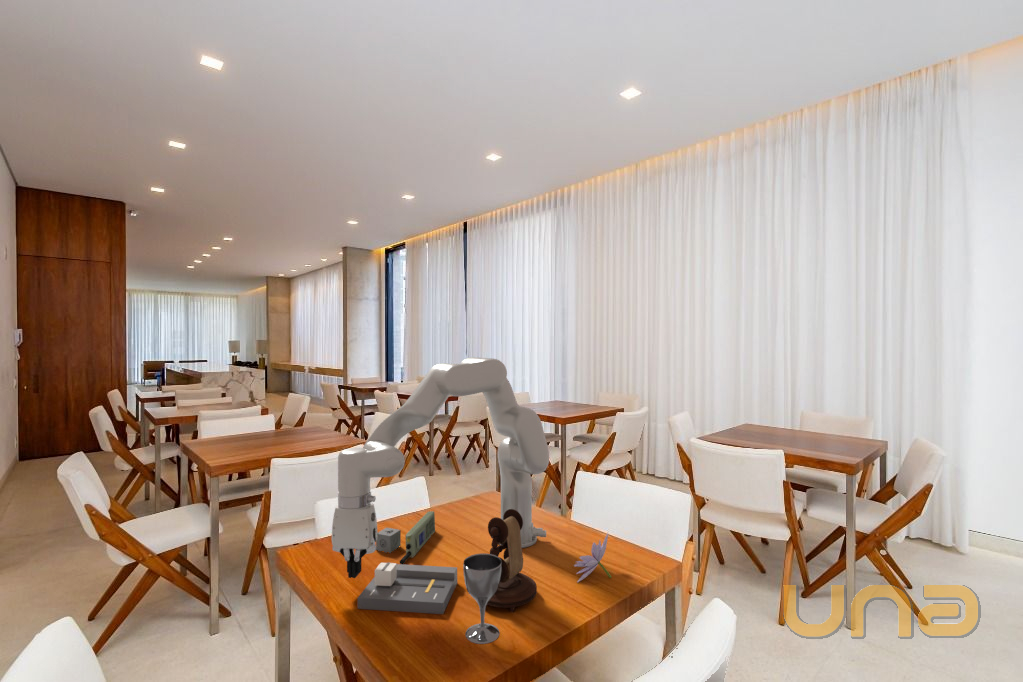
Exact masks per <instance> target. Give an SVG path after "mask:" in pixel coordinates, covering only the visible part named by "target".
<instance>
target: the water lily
mask: <svg viewBox="0 0 1023 682" xmlns="http://www.w3.org/2000/svg"><path fill="white" fill-rule="evenodd" d="M608 538H609V532H607V533H606V535H605V537H604V538H603V539H604V540H603V542H602V543H601V539H599V540H598V544H597V543H596V542H593V543H592V545H591V550H590V552H591V555H581V556H579V559H580V560H578V561H577V560H576V561H575V564H573V566H574V567H577V568H581V569H580V570H579V571H578V572H576V575H578V574H582V573H583V574H582V575H581V576H580V577H579V579H578V580H577V582H576V583H579V582H581V581H582V580H584V579H585V578H587V577H588V576H589V575H591V573H592V572H594V570H596V567H597V566H600V568H601V569H602V570H603V572H604V573H605V574H606V575H607V577H608V578H609V579H611V578H612V575H611V574H610V572H609V571H608V570H607V568H606V567H605V566H604V565H603V564H602V563H601V560H602V559H603V557H604V556H605V553H606V549H607V544H608Z"/></svg>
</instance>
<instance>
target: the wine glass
mask: <svg viewBox="0 0 1023 682" xmlns="http://www.w3.org/2000/svg"><path fill="white" fill-rule="evenodd" d="M499 557H500V556H496V555H493V554H490V553H483V552H482V553H474V554H471V555H469V556H466V557H465V558H464V559H463V569H462V570H463V578H464V584H465V588H466V590H467V593H468V594H469V595H470V596H471V598H472V599H474V600H475V602H476V603H477V605H478V608H479V614H480V623H475V624H473V625H471V626H470V627H468V628H467V629H466V631H465V633H464V634H465V635H464V636H465V638H466V639H467V640H468V641H469V642H471V643H473V644H476V645H477V644H478V645H486V644H490V643H494V642H495V641H496V640H498V638H499V637H500V630H499V628H498V627H497V626H496V625H494V624H491V623H486V622H485V616H486V607H487V606H488V605H487V603H488V601H489V600H490V599H491V598H492V597H493V595H494V594H495V593H496V592H497V590H498V587H499V584H500V579H501V559H500V558H501V557H500V558H499Z"/></svg>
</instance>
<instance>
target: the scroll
mask: <svg viewBox="0 0 1023 682" xmlns="http://www.w3.org/2000/svg"><path fill="white" fill-rule="evenodd" d="M522 526H523V519H522V517H521V515H520V513H519V512H518V511H516V510H514V509H509V510H507V511H506V512H505V513H504V516H503V520H502V519H501V517H497V516H495V517H493V518H491V519H490V520H489V522H488V524H487V532H488V534H489V536H490V537H491V539H492V540H491V545H490V546H491V548H490V550H489V554H493V555H496V556H498V557H499V558H500V559H501V579H500V584H499V587H498V590H497V592H496V593H495V594H494V595H493V597H492V598H491V599H490V600H489V601H488V603H487V605H486V606H491V607H495V608H501V609H502V608H503V609H504V608H506V609H507V608H509V610H510V612H511V613H513V612H514V611H515V608H517V607H520V606H524V605H526V604H528V603H530V602H531V601H532V600H534V599H535V598H536V596H537V593H538V588H537V587H538V586H537V583H536V581H535V580H534V579H532V577H530V576H528V575H526V574H525V573H522V570H523V567H524V555H523V548H522V547H521V534H520V530H521V529H522ZM500 544H501V545H500ZM503 550H504V551H503ZM502 552H503V558H502V557H500V554H501V553H502Z"/></svg>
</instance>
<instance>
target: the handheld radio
mask: <svg viewBox="0 0 1023 682" xmlns="http://www.w3.org/2000/svg"><path fill="white" fill-rule="evenodd" d="M435 516H436V514H435V511H433V510H432V511H431V510H430V511H427V512H426V513H425V514H424V515H423V516H422V517H421V518H420V519H419V520H418V521H417V522H416V523H415V524H414V526H412V527H411V528H410V529H409V530H408V532H406V534H405V555H404V556H403V557H402V558H401V559H400V560H399V564H404V565H405V563H406V562H407V560H408V559H409V558H414V557H415V556H416V555H418V553H419V552H420V550H421V549H422V548H423V546H425V544H426V543H427V542H428V540H429V539H430V538H431V537H432V536H433V535H434V533H436V518H435ZM431 535H432V536H431Z"/></svg>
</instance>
